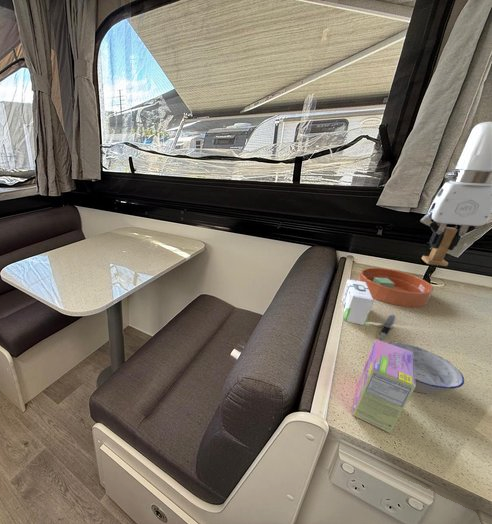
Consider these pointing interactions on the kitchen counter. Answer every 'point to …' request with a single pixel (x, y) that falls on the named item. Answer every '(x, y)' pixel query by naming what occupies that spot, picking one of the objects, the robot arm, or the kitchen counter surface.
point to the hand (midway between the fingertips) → (440, 247)
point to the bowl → (432, 371)
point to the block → (384, 282)
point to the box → (384, 385)
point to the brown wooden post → (441, 248)
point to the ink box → (356, 302)
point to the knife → (386, 327)
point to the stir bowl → (397, 287)
